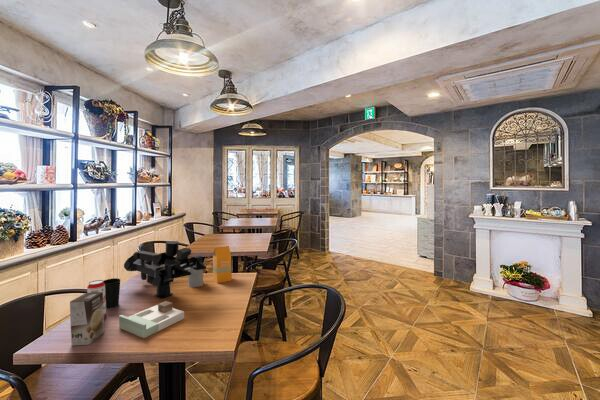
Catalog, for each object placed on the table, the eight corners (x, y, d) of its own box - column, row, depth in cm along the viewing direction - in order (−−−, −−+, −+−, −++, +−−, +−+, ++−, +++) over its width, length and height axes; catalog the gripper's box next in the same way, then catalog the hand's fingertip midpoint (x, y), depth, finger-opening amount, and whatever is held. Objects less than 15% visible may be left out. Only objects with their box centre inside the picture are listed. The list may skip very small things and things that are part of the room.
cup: (111, 310, 131) (110, 284, 130) (97, 308, 132) (96, 283, 131) (125, 303, 138) (124, 278, 137) (111, 301, 140) (110, 277, 139)
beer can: (87, 323, 118) (85, 285, 117) (90, 317, 124) (88, 280, 123) (105, 320, 121) (103, 283, 120) (107, 314, 127) (105, 278, 126)
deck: (119, 327, 115) (118, 315, 115) (159, 310, 131) (159, 299, 130) (144, 338, 107) (143, 325, 107) (184, 318, 123) (183, 306, 123)
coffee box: (89, 345, 103) (87, 301, 102) (70, 345, 102) (68, 302, 101) (105, 331, 112) (103, 291, 111) (87, 332, 111) (85, 292, 110)
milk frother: (152, 277, 176) (151, 253, 175) (177, 277, 175) (177, 253, 174) (138, 285, 162) (137, 259, 161) (165, 286, 161) (164, 260, 160)
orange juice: (231, 280, 171) (231, 247, 169) (217, 283, 166) (216, 249, 164) (227, 276, 177) (226, 244, 176) (212, 279, 172) (212, 246, 171)
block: (158, 311, 123) (158, 304, 123) (166, 307, 127) (166, 300, 127) (164, 313, 121) (164, 306, 121) (172, 309, 125) (172, 302, 125)
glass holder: (187, 288, 158) (187, 261, 157) (187, 279, 171) (187, 255, 170) (204, 286, 161) (203, 259, 160) (203, 278, 175) (202, 253, 174)
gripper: (159, 252, 133) (182, 259, 126) (191, 243, 150) (213, 249, 143) (158, 275, 134) (182, 283, 127) (190, 264, 151) (212, 271, 144)
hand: (198, 270), depth 135 cm, fingers open, 9 cm apart
